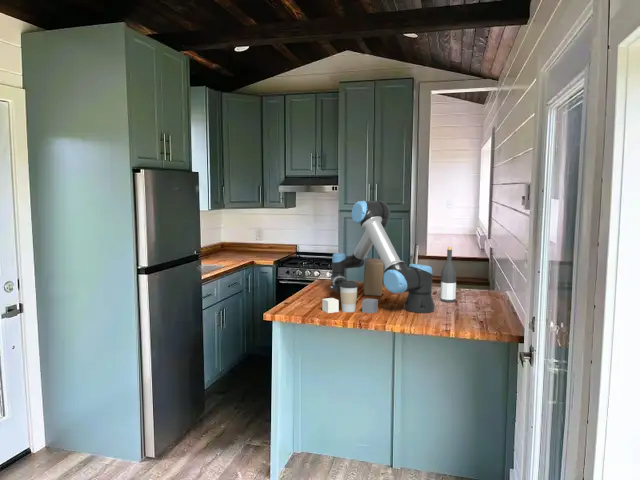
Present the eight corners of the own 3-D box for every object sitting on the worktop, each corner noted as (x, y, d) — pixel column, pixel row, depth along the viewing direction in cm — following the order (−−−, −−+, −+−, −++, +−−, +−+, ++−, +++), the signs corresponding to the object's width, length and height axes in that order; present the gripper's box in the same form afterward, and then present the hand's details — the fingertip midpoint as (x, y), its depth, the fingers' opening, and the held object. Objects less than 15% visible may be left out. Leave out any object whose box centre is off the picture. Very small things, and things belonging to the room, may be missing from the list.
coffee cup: (358, 309, 245) (359, 280, 244) (355, 313, 237) (355, 283, 235) (341, 307, 248) (342, 279, 246) (337, 312, 239) (338, 282, 237)
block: (379, 290, 284) (382, 258, 280) (381, 296, 274) (384, 262, 270) (363, 290, 284) (365, 257, 280) (364, 295, 274) (366, 262, 270)
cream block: (338, 311, 240) (338, 300, 239) (328, 313, 237) (328, 301, 236) (332, 309, 245) (332, 297, 244) (322, 310, 242) (322, 298, 241)
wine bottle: (446, 303, 259) (448, 248, 256) (437, 299, 266) (439, 246, 263) (458, 302, 262) (460, 247, 259) (449, 298, 269) (451, 245, 266)
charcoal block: (377, 311, 242) (377, 299, 241) (373, 313, 237) (373, 301, 236) (366, 309, 245) (366, 298, 244) (362, 312, 239) (362, 300, 239)
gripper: (351, 290, 271) (358, 301, 247) (328, 290, 270) (333, 301, 246) (351, 277, 270) (359, 287, 246) (329, 277, 269) (333, 286, 245)
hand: (346, 294), depth 246 cm, fingers closed
